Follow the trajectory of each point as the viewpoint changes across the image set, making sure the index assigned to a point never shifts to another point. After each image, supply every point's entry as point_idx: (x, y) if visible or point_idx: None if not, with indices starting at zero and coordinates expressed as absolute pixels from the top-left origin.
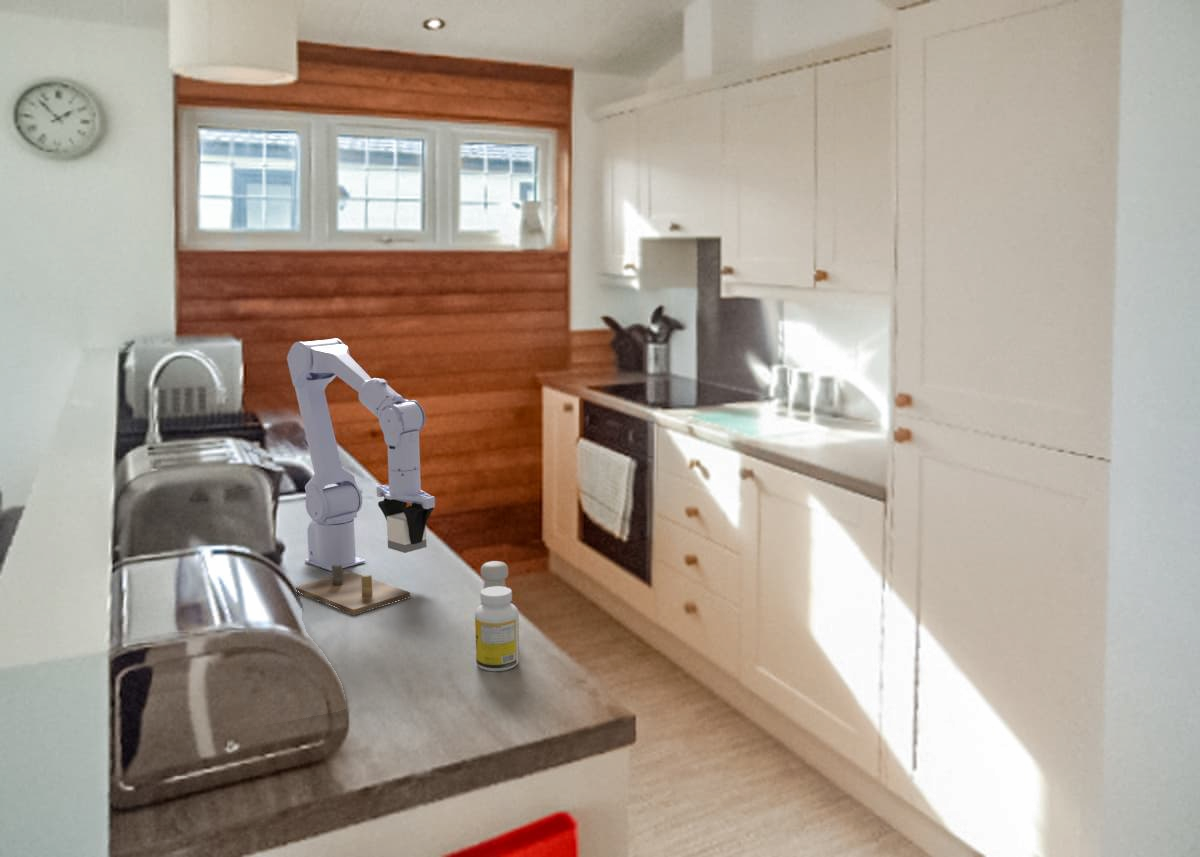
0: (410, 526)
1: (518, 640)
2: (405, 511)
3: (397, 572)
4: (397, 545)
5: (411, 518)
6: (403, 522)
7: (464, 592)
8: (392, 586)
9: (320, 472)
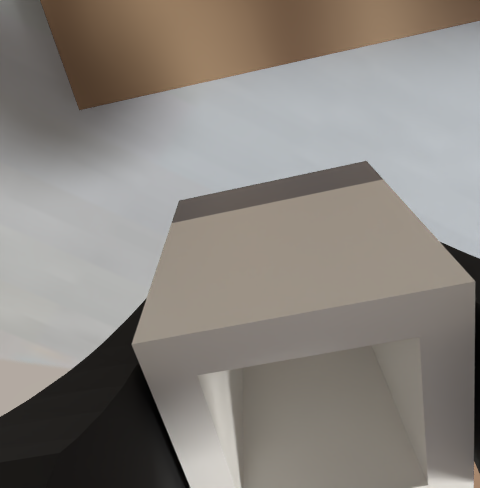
0: (113, 349)
1: None
2: (2, 455)
3: (442, 212)
4: (259, 197)
5: (5, 416)
6: (142, 330)
7: (52, 302)
8: (208, 77)
9: None
